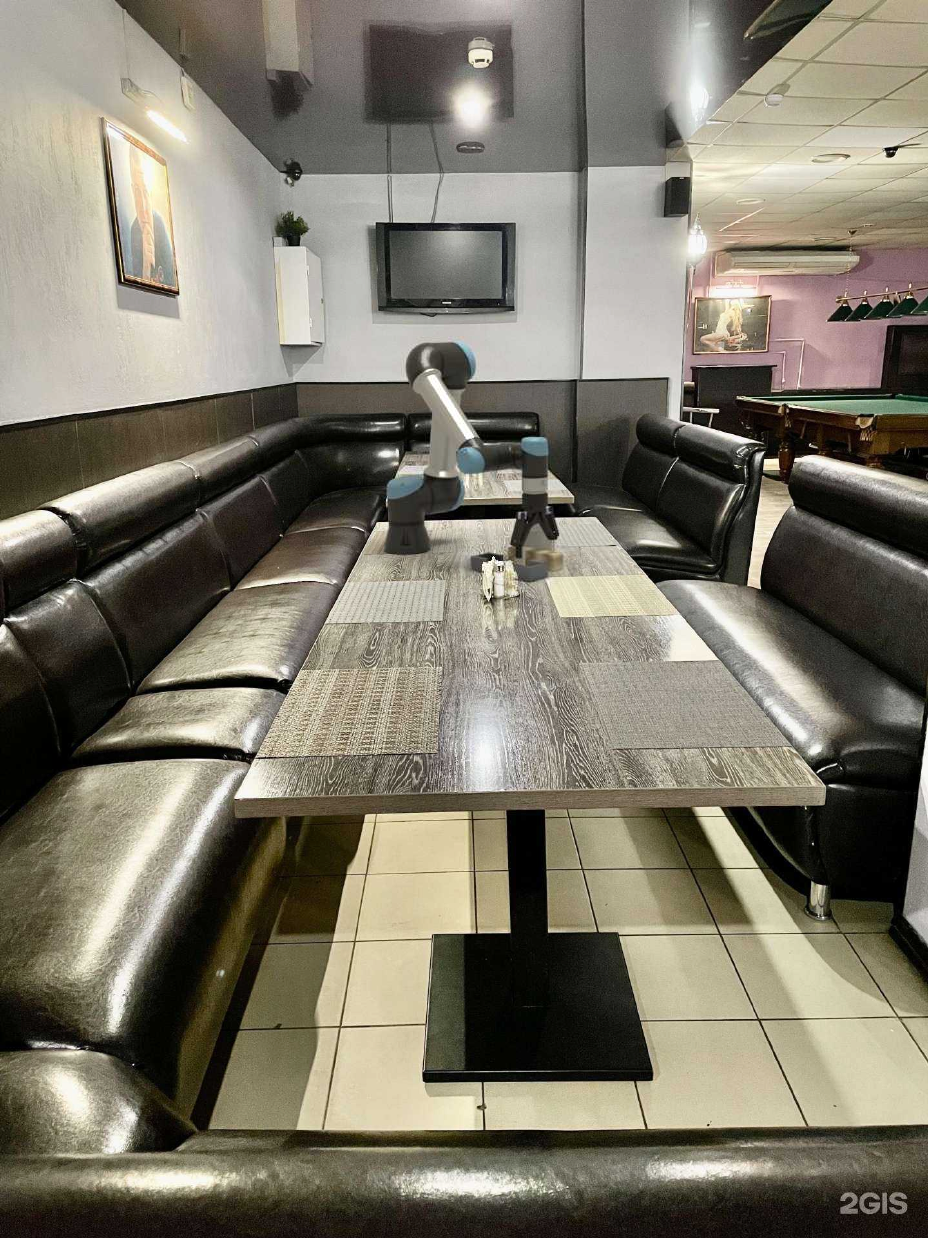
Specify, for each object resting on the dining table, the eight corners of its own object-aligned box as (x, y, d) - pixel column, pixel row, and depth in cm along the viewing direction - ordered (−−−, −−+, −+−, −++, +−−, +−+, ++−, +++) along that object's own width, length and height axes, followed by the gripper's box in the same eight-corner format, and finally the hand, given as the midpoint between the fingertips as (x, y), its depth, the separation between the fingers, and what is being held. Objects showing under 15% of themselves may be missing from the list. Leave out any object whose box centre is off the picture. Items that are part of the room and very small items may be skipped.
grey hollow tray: (547, 577, 244) (548, 563, 243) (530, 582, 239) (530, 567, 238) (531, 573, 249) (531, 560, 247) (514, 578, 244) (513, 564, 242)
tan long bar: (508, 563, 263) (507, 547, 262) (517, 561, 266) (516, 544, 264) (553, 572, 251) (553, 555, 249) (562, 569, 253) (562, 553, 252)
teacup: (553, 553, 273) (553, 528, 271) (518, 554, 273) (518, 529, 271) (549, 544, 286) (550, 520, 284) (516, 545, 287) (516, 521, 284)
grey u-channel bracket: (471, 569, 255) (470, 556, 254) (488, 565, 260) (488, 552, 259) (485, 572, 251) (485, 559, 250) (503, 568, 256) (503, 554, 255)
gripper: (516, 498, 241) (517, 574, 247) (571, 488, 257) (571, 559, 264) (496, 496, 246) (497, 570, 253) (552, 486, 263) (552, 556, 269)
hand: (535, 565), depth 258 cm, fingers open, 12 cm apart
